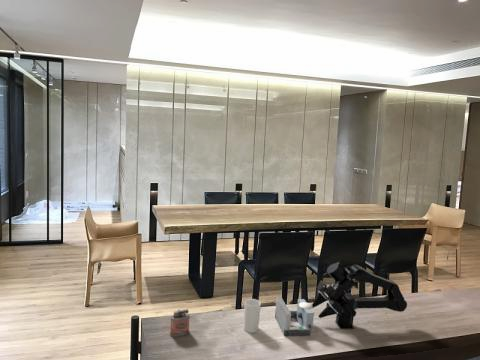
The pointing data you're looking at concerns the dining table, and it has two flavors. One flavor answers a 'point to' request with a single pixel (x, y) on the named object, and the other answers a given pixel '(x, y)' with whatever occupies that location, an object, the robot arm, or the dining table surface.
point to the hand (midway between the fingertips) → (315, 312)
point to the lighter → (180, 323)
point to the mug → (251, 315)
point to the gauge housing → (288, 320)
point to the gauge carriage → (305, 314)
